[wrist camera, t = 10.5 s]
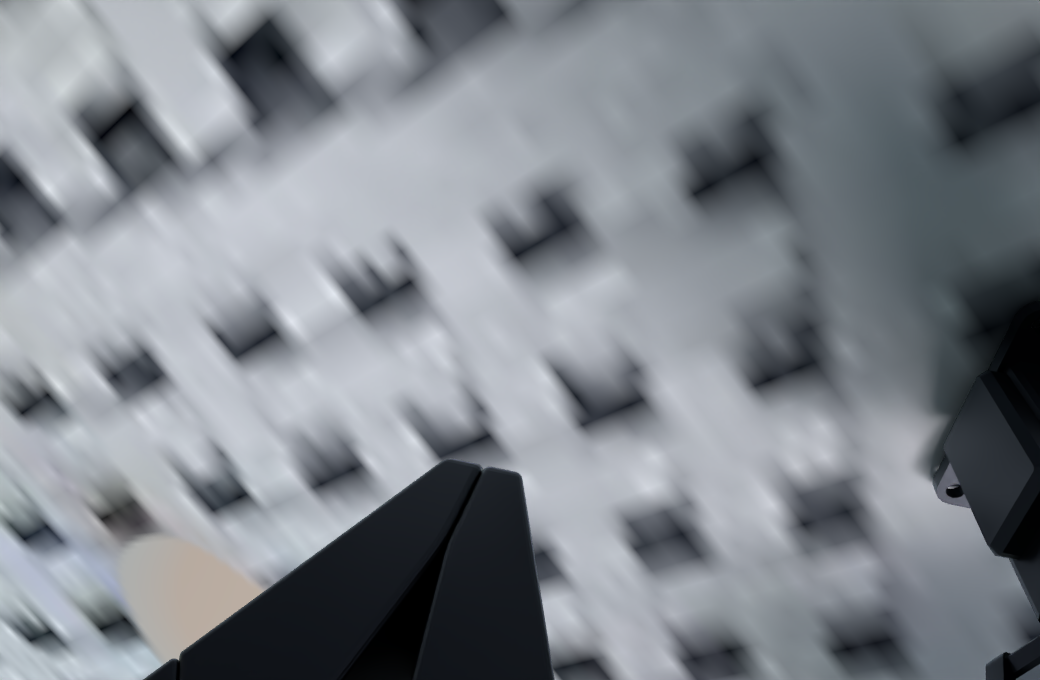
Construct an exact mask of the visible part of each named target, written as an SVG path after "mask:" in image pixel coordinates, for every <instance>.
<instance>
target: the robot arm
mask: <svg viewBox="0 0 1040 680" xmlns="http://www.w3.org/2000/svg"><path fill="white" fill-rule="evenodd" d="M1037 319H1040V302H1034V303H1031V304H1028V305H1026V306H1025V307H1023V308H1022V309H1020V310H1019V312H1018V313H1017V314H1016V316H1015V318H1014V320H1013V322H1012V324H1011V326H1010V328H1009V330H1008V331H1007V333H1006V335H1005V337H1004V339H1003V341H1002V343H1001V345H1000V347H999V349H998V351H997V353H996V355H995V357H994V359H993V361H992V363H991V365H990V367H989V369H988V371H985V372H984V373H982V374H981V375H980V376H978V377H977V379H976V381H975V383H974V385H973V387H972V389H971V391H970V393H969V395H968V397H967V399H966V401H965V403H964V405H963V407H962V409H961V411H960V413H959V415H958V417H957V419H956V421H955V423H954V425H953V427H952V429H951V431H950V433H949V435H948V437H947V439H946V441H945V443H944V447H943V448H944V451H945V453H946V455H945V457H944V459H943V461H942V463H941V465H940V467H939V469H938V471H937V473H936V475H935V477H934V479H933V486H934V489H935V491H936V494H937V496H938V498H939V499H940V500H941V501H942V502H945V503H948V504H952V505H957V506H962V507H966V508H971V510H972V512H973V514H974V517H975V519H976V521H977V523H978V525H979V528H980V530H981V532H982V534H983V536H984V539H985V541H986V543H987V545H988V546H989V548H990V549H991V551H992V552H993V553H994V554H995V556H1000V557H1004V558H1009V560H1010V562H1011V564H1012V566H1013V568H1014V571H1015V573H1016V575H1017V577H1018V579H1019V581H1020V583H1021V585H1022V587H1023V589H1024V591H1025V594H1026V596H1027V598H1028V600H1029V602H1030V604H1031V606H1032V608H1033V610H1034V612H1035V614H1036V616H1037V619H1038V621H1039V622H1040V327H1038V328H1031V325H1032V324H1033V323H1034V321H1035V320H1037ZM953 484H960V486H959V487H957V488H954V489H948V487H949V486H951V485H953ZM143 680H555V679H554V673H553V667H552V661H551V655H550V648H549V642H548V636H547V630H546V624H545V617H544V611H543V605H542V599H541V592H540V586H539V580H538V574H537V568H536V561H535V555H534V549H533V543H532V537H531V530H530V524H529V518H528V512H527V505H526V499H525V493H524V487H523V481H522V477H521V475H520V474H519V473H517V472H514V471H509V470H505V469H500V468H495V467H486V468H485V469H484V470H483V468H482V467H481V466H480V465H479V464H477V463H472V462H467V461H462V460H458V459H453V458H448V459H445V460H443V461H442V462H440V463H439V464H438V465H436V466H435V467H433V468H432V469H431V470H429V471H428V472H427V473H425V474H424V475H423V476H421V477H420V478H418V479H417V480H416V481H414V482H413V483H412V484H410V485H409V486H408V487H406V488H405V489H403V490H402V491H401V492H399V493H398V494H397V495H395V496H394V497H393V498H391V499H390V500H388V501H387V502H386V503H384V504H383V505H382V506H380V507H379V508H377V509H376V510H375V511H373V512H372V513H371V514H369V515H368V516H367V517H365V518H364V519H362V520H361V521H360V522H358V523H357V524H356V525H354V526H353V527H352V528H350V529H349V530H347V531H346V532H345V533H343V534H342V535H341V536H339V537H338V538H337V539H335V540H334V541H332V542H331V543H330V544H328V545H327V546H326V547H324V548H323V549H322V550H320V551H319V552H317V553H316V554H315V555H313V556H312V557H311V558H309V559H308V560H306V561H305V562H304V563H302V564H301V565H300V566H298V567H297V568H296V569H294V570H293V571H291V572H290V573H289V574H287V575H286V576H285V577H283V578H282V579H281V580H279V581H278V582H276V583H275V584H274V585H272V586H271V587H270V588H268V589H267V590H266V591H264V592H263V593H261V594H260V595H259V596H257V597H256V598H255V599H253V600H252V601H251V602H249V603H248V604H247V605H245V606H244V607H242V608H241V609H240V610H238V611H237V612H235V613H234V614H233V615H231V616H230V617H229V618H227V619H226V620H225V621H223V622H222V623H220V624H219V625H218V626H216V627H215V628H214V629H212V630H211V631H210V632H208V633H207V634H206V635H204V636H203V637H201V638H200V639H199V640H197V641H196V642H195V643H194V644H192V645H190V646H189V647H188V648H186V649H185V650H184V651H182V652H181V654H180V658H179V660H177V659H171V660H169V661H168V662H167V663H165V664H164V665H163V666H161V667H160V668H158V669H157V670H156V671H154V672H153V673H152V674H150V675H149V676H148V677H146V678H145V679H143ZM986 680H1040V635H1039V636H1038V637H1036V638H1035V639H1033V640H1032V641H1030V642H1029V643H1027V644H1026V645H1024V646H1023V647H1021V648H1020V649H1018V650H1017V651H1015V652H1014V653H1012V654H1010V653H1007V652H1005V653H1003V654H1001V655H1000V656H998V657H997V658H995V659H994V660H992V661H991V662H989V663H988V664H987V665H986Z"/></svg>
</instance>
